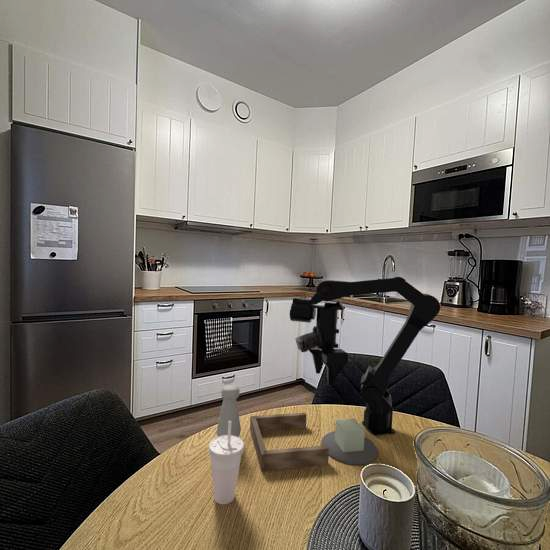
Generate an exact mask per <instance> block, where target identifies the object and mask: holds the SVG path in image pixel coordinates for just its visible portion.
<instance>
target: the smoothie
mask: <svg viewBox="0 0 550 550" xmlns="http://www.w3.org/2000/svg"><path fill="white" fill-rule="evenodd" d="M244 450H245V443H244V441H243V440H242V438H241V437H240V436H239V437H236V436H232V435H231V421H228V435H223V436H219V437H218V436H216V437H214V438H213V439H211V440H210V442H209V444H208V450H207V452H208V454H209V456H210V466H211V476H212V477H211V478H212V488H213V489H212V490H213V499H214V501H215V503H217V504H218V505H228V504H230V503H232V502H233V501H234V499H235V497H236V491H237V490H236V489H237V486H238V485H237V484H238V478H239V472H240V466H241V460H242V455H243V453H244Z"/></svg>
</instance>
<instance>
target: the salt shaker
mask: <svg viewBox="0 0 550 550" xmlns="http://www.w3.org/2000/svg"><path fill="white" fill-rule="evenodd" d="M220 395H221V398H222V405H221V408H220V412H219V418H218V421H217V427H216V431H215V432H216V435H217V436H216V437H219V436H223V435H228V421H231V435H232V436H236V437H239V438H240V436H241V431H242V426H241V421H240V414H239V413H240V412H239V408H238V401H237V398H239V397H240V388H239V387H238V386H237V385H234V384H228V385H224V386H223V387H222V388H221V392H220Z"/></svg>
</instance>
